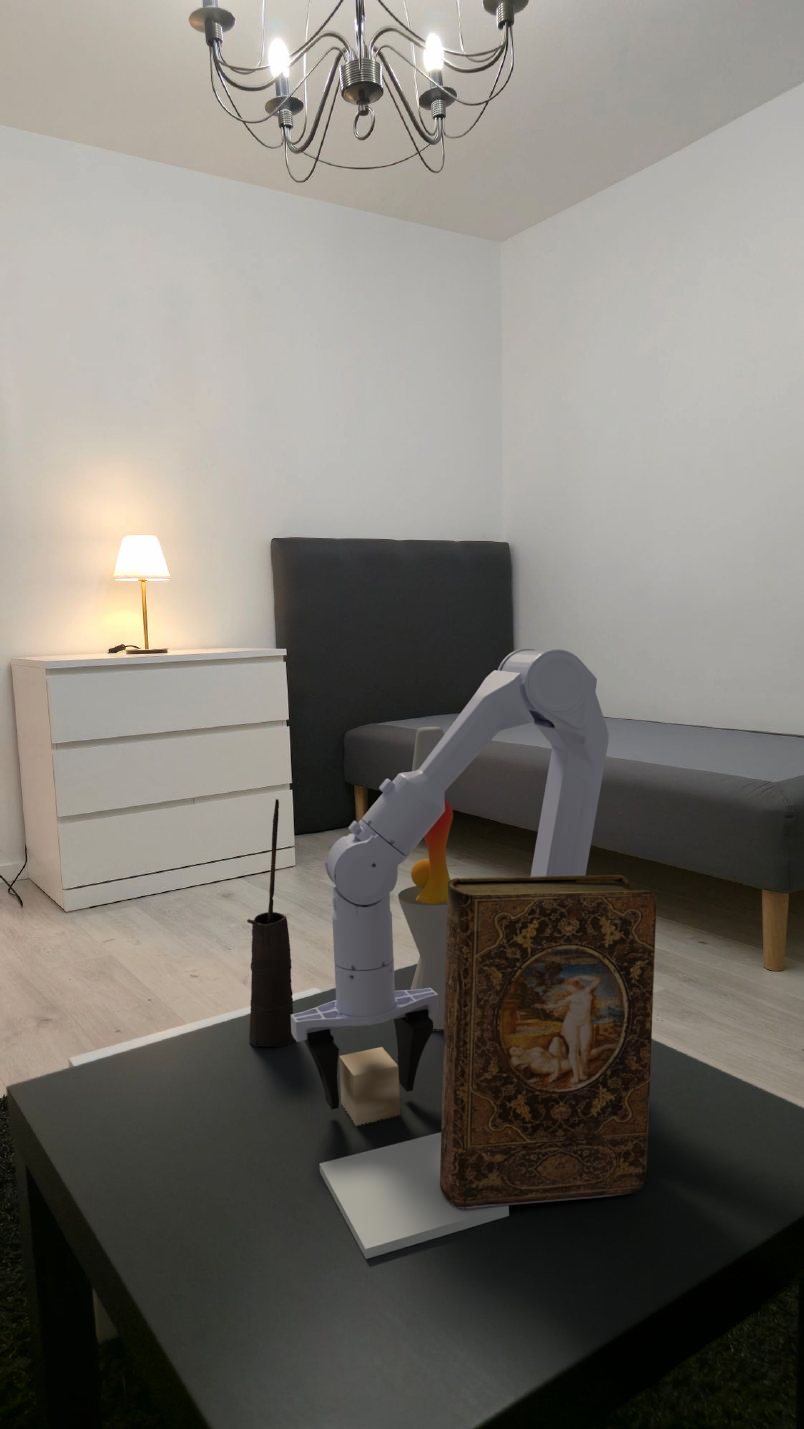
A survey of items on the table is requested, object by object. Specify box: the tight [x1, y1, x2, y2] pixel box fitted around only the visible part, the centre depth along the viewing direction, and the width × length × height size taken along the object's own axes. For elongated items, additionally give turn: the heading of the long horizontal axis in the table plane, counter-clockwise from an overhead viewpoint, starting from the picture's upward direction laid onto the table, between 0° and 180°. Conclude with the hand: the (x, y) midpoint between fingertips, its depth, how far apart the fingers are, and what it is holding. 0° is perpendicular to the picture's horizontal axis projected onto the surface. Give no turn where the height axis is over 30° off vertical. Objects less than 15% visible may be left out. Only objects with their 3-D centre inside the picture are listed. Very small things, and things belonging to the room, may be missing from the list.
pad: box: [319, 1131, 510, 1260], centre depth 75 cm, size 12×12×1 cm
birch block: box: [338, 1046, 401, 1127], centre depth 88 cm, size 4×4×5 cm
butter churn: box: [246, 798, 295, 1048], centre depth 103 cm, size 9×10×28 cm
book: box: [440, 874, 657, 1209], centre depth 74 cm, size 16×6×25 cm, turn 100°
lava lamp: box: [397, 726, 454, 1029], centre depth 108 cm, size 9×9×35 cm
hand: (369, 1095), depth 89 cm, fingers open, 7 cm apart
